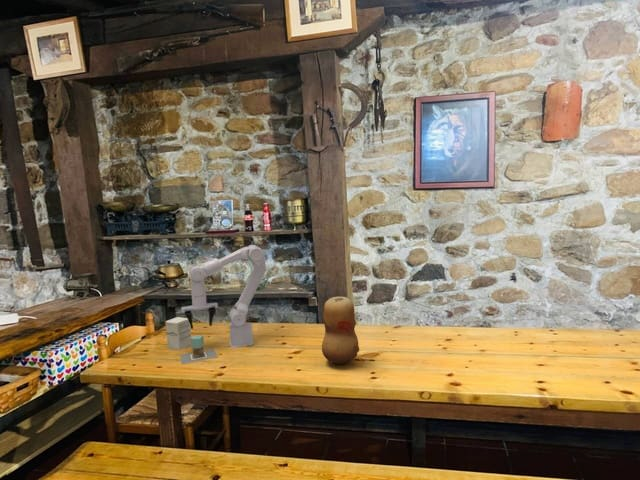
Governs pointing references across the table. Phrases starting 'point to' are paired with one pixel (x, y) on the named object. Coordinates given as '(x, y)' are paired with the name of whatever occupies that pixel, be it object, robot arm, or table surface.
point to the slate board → (189, 358)
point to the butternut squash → (339, 331)
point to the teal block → (197, 341)
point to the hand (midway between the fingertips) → (201, 326)
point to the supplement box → (178, 333)
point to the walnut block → (198, 352)
